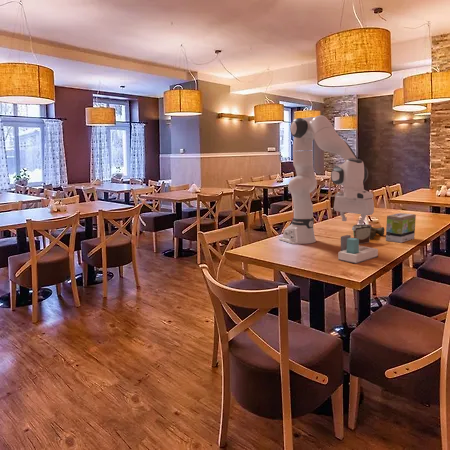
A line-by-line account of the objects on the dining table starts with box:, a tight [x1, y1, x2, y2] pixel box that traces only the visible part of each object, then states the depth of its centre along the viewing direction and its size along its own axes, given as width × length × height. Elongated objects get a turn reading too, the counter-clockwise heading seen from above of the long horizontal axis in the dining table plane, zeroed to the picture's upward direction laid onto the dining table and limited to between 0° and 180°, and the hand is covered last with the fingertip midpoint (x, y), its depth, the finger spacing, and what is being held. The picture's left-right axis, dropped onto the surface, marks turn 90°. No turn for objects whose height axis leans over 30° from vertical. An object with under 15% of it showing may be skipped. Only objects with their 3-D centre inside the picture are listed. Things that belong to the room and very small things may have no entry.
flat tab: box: [340, 234, 352, 251], centre depth 215 cm, size 2×6×9 cm, turn 128°
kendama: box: [370, 226, 385, 240], centre depth 252 cm, size 6×10×20 cm
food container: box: [351, 223, 372, 245], centre depth 237 cm, size 12×6×10 cm, turn 117°
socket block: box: [337, 245, 379, 265], centre depth 204 cm, size 10×18×4 cm, turn 128°
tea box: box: [385, 212, 417, 244], centre depth 239 cm, size 15×10×15 cm, turn 129°
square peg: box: [347, 237, 360, 254], centre depth 200 cm, size 4×4×10 cm
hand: (352, 222), depth 198 cm, fingers open, 8 cm apart
